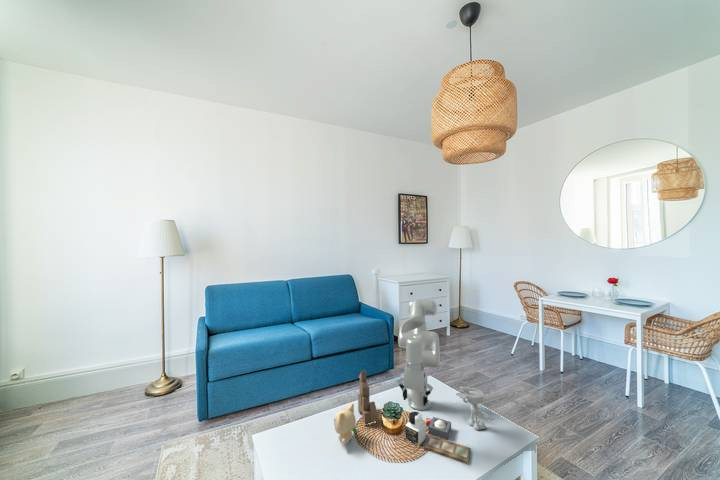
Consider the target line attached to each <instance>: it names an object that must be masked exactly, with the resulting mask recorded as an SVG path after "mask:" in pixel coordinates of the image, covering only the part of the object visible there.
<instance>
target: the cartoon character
mask: <svg viewBox="0 0 720 480" xmlns="http://www.w3.org/2000/svg"><path fill="white" fill-rule="evenodd" d="M460 390H461V391H463V393H464V394H463V393H462V392H457V393H455V395H456V396H458V397H459V398H460V399H462V401H463V403H464V404H465V403H466V404H470V405H469V406H470V414H471V415H470V419H469V420H468V424H469V426H472V427H473V428H474V429H475V430H477V431H480V430H486V428H487V426H486V424H485V422H483V421H481V420H480V418H478V416H479V413H481V414H482V415H483V416H484V418H485V419H486V420H488V422H493V421H496V420H495V417H494V416H493V415H491V414H488V413H487V412H486V411H483V409H481V408H480V407H478V405H479V404H481V403H482V402H483V401H484V399H485V393H484V392H483V391H482V390H480V389H478V388H473V387H464V386H460Z"/></svg>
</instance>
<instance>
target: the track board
mask: <svg viewBox="0 0 720 480" xmlns="http://www.w3.org/2000/svg"><path fill="white" fill-rule="evenodd" d="M429 435H430V434H429ZM471 450H472V449H471V447H469V446H465V445H463V444H460V443H457V442H454V441H450V440H449V439H448V440H446V439H443V438H440V437H436V436H433V435H430V438H429V440H428V442H427V445H426V447H425V451H427V452H431V453H433V454H436V455H438V456H439V455H440V456H441V457H445V458H448V459H451V460H453V461H456V462H459V463H462V464H464V465H469V460H470V454H471Z"/></svg>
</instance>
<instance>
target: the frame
mask: <svg viewBox="0 0 720 480" xmlns="http://www.w3.org/2000/svg"><path fill="white" fill-rule="evenodd" d="M429 437H430V434H429V433H426V439H425V440H424V442H423V446H422V447H421V448H425V446H426V444H427V442H428V439H429ZM425 449H426V448H425Z"/></svg>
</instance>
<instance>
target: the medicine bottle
mask: <svg viewBox="0 0 720 480" xmlns="http://www.w3.org/2000/svg"><path fill="white" fill-rule="evenodd" d="M426 428H427V427H426V423H424V422H423V416H422V414H421V413H420V412H418V411H411V412H410V413H408V422H406V424H405V430H404V433H405V434H406V439H407V440H409V441H411V442H412V443H411V442H410V443H411V444H413V443H414V444H413V445H415V444H416V445H418V446H419V447H420V445H422V443H424V442H425V441H426V438H427V436H426V434H427V433H426V432H427V429H426ZM406 439H405V440H406ZM407 440H406V441H407ZM409 441H408V442H409Z"/></svg>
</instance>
